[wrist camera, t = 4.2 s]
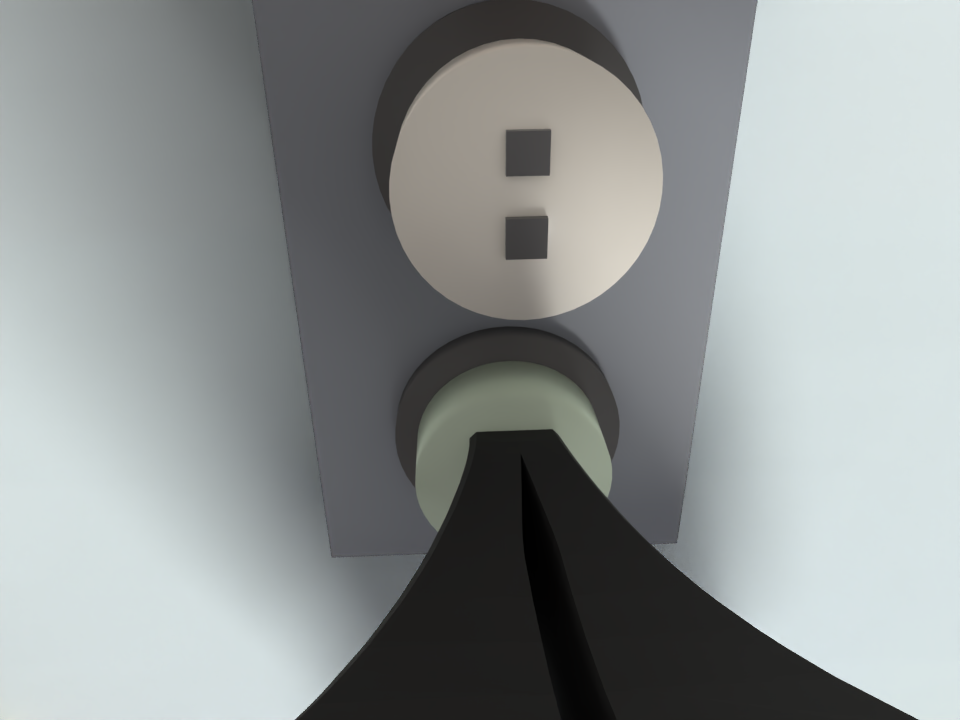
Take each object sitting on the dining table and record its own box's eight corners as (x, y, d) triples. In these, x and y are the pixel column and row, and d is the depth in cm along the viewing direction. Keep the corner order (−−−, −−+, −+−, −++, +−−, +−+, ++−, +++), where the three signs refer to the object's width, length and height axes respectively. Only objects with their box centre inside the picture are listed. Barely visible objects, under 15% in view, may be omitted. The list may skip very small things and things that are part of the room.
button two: (627, 281, 10) (651, 318, 9) (402, 287, 10) (397, 327, 9) (649, 36, 9) (680, 45, 8) (386, 40, 9) (377, 50, 8)
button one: (592, 508, 14) (606, 557, 12) (422, 515, 14) (420, 565, 12) (604, 357, 12) (621, 397, 11) (412, 364, 12) (409, 404, 11)
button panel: (657, 496, 16) (682, 556, 14) (341, 508, 16) (328, 571, 14) (793, -571, 9) (877, -703, 7) (201, -577, 8) (140, -716, 7)
